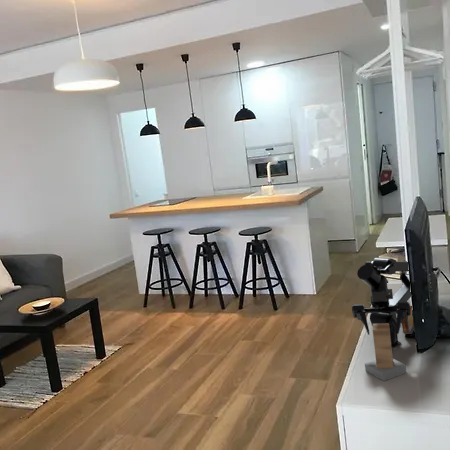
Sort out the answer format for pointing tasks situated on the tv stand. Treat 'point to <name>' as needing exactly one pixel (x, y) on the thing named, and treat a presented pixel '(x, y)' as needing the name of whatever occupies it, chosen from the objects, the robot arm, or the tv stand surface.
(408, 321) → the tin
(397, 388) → the tv stand surface
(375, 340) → the walnut block
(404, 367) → the grey block
